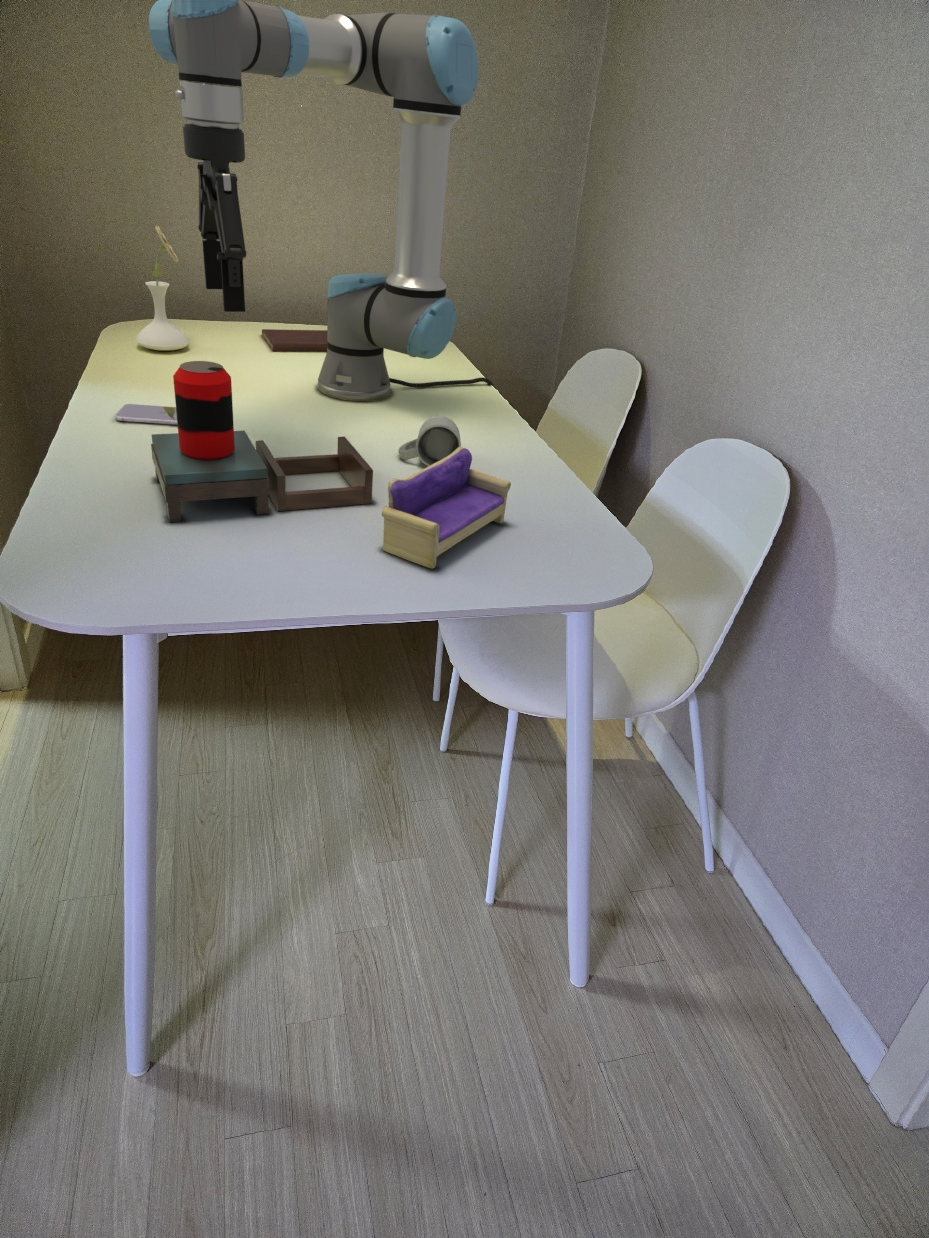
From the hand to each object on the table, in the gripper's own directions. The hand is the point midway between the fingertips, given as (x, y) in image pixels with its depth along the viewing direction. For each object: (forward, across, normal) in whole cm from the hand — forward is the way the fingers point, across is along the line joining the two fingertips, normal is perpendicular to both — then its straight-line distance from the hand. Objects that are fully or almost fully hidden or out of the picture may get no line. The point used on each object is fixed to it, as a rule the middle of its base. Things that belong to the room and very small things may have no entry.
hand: (224, 299), depth 113 cm
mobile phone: (+26, -26, -8) cm, 38 cm away
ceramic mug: (+27, +2, +33) cm, 42 cm away
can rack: (+26, +9, +10) cm, 29 cm away
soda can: (+19, +9, -5) cm, 22 cm away
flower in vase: (+27, -74, -1) cm, 79 cm away
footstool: (+26, +9, -6) cm, 28 cm away
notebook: (+28, -76, +33) cm, 88 cm away
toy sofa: (+26, +30, +24) cm, 46 cm away
